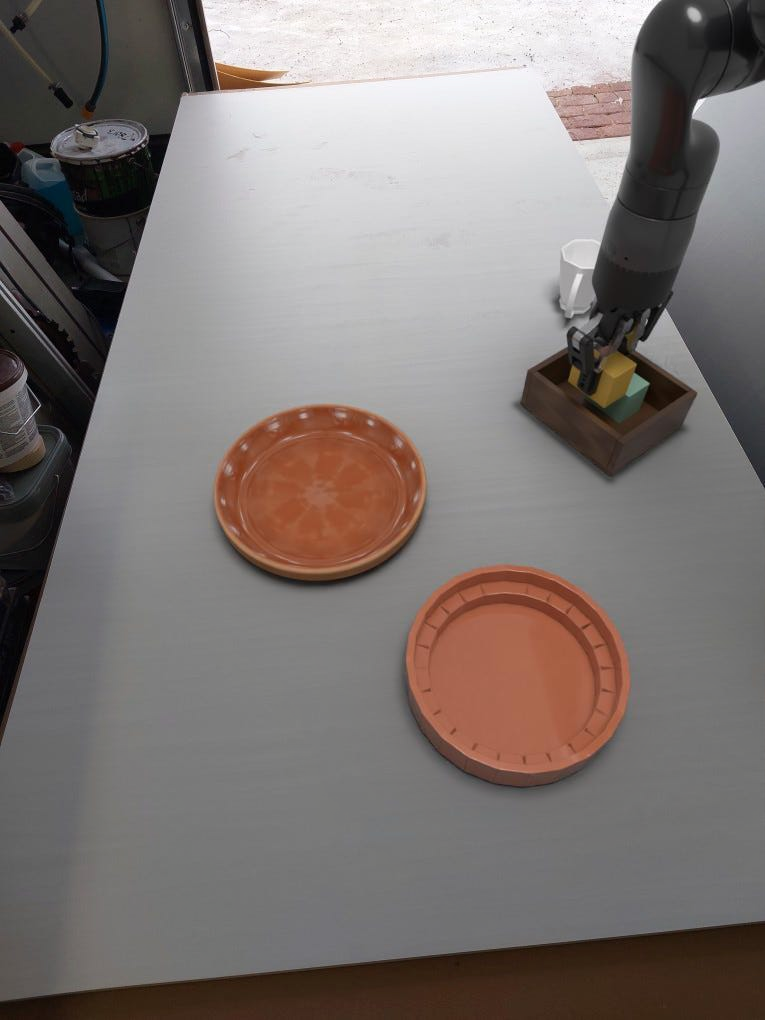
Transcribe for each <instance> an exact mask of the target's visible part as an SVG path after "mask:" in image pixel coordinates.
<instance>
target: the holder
mask: <svg viewBox="0 0 765 1020" xmlns="http://www.w3.org/2000/svg"><path fill="white" fill-rule="evenodd" d="M606 342H607V341H606ZM608 343H609V344H610V342H608ZM628 358H629V359H630V360H632V361H633V362H635V363H636V364H637V365H636V368H635V371H634V373H635V374H637V375H638V376H640V377H641V378H643V379H644V380H645V381H647V382H648V383H650V384H649V387H648V389H647V392H646V394H645V397H644V399H643V402H642V404H641V406H640V409H639V411H638V412H636V413H635V414H633V415H632V416H630V417H629V418H627V419H626V420H624V421H623V422H621V423H619V424H618V423H617V422H616V421H614V420H613V419H612V418H610V417H609V416H608V415H606V414H605V413H604V412H602V411H601V410H600V409H598V408H597V407H596V406H594V405H593V404H592V403H591V402H589V401H588V400H587V399H585V396H586V394H584V393H583V392H582V391H580V390H579V389H578V388H576V387H575V386H574V385H572V384H571V383H570V382H568V379H569V376H570V372H571V369H572V365H571V364H570V363H569V355H568V346H565V347H564V348H563V349H561V350H559V351H558V352H556V353H554V354H552V355H551V356H549V357H547V358H545V359H544V360H542V361H541V362H539V363H537V364H535V365H534V366H532V367H530V368H529V369H526V370H527V371H526V375H525V380H524V385H523V389H522V394H521V400H520V405H521V406H522V407H524V408H525V409H526V410H527V411H528V412H529V413H531V414H532V415H533V416H535V417H536V418H537V419H538V420H540V421H541V422H542V423H544V424H545V425H546V426H547V427H548V428H550V429H551V430H552V431H553V432H554V433H556V434H557V435H558V436H559V437H561V438H562V439H563V440H564V441H566V442H567V443H568V444H569V445H571V447H573V448H575V449H576V450H577V451H578V452H580V454H582V455H583V456H584V457H586V458H587V459H588V460H589V461H590V462H592V463H593V464H594V465H595V466H597V467H598V468H599V469H600V470H601V471H603V472H604V473H605V474H607V475H608V476H609V477H612V476H613V475H614V474H616V473H617V472H618V471H620V470H622V469H623V468H624V467H626V466H627V465H629V464H630V463H632V462H633V461H634V460H636V459H638V458H639V457H640V456H641V455H643V454H645V453H646V452H647V451H649V450H650V449H651V448H653V447H655V446H656V445H657V444H659V443H660V442H661V441H663V440H664V439H666V438H667V437H668V436H670V435H672V434H673V433H674V432H675V431H677V430H679V429H680V428H681V427H682V426H683V424H684V422H685V420H686V418H687V416H688V414H689V412H690V410H691V408H692V406H693V404H694V402H695V400H696V398H697V396H698V394H699V393H698V391H697V390H695V389H693V388H692V387H691V386H689V385H688V384H686V383H685V382H683V381H682V380H680V379H679V378H678V377H676V376H675V375H673V374H671V373H670V372H668V371H667V370H666V369H664V368H662V367H661V366H659V364H656V363H655V362H653V360H650V359H649V358H648V357H647V356H645V355H643V354H642V353H640V352H639V351H638V350H636V349H635V350H634V351H633V352H632V353H630V354H629V357H628Z"/></svg>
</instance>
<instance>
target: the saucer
mask: <svg viewBox="0 0 765 1020" xmlns="http://www.w3.org/2000/svg"><path fill="white" fill-rule="evenodd" d="M213 481H214V482H213V493H212V495H213V505H214V511H215V514H216V517H217V520H218V522H219V524H220V527H221V528H222V531H223V533H224V535H225V537H226V538H227V540H228V541H229V543H230V544H231V546H233V548H234V549H235V550H236V551H237V552H238V553H239V554H241V555H242V556H243V557H244V558H245V559H247V561H249V562H251V563H252V564H254V565H255V566H257V567H259V568H260V569H263V570H265V571H267V572H269V573H272V574H275V575H278V576H280V577H284V578H287V579H288V578H289V579H293V580H300V581H314V582H315V581H318V582H320V581H331V580H332V581H333V580H338V579H339V580H340V579H344V578H348V577H352V576H355V575H358V574H361V573H363V572H366V571H368V570H371V569H372V568H375V567H376V566H378V565H380V564H381V563H383V562H385V561H386V560H388V559H389V558H390V557H392V556H393V555H394V554H396V553H397V552H398V551H399V550H400V549H401V548H402V547H404V545H405V544H406V542H408V540H409V539H410V537H411V536H412V535H413V533H414V532H415V530H416V529H417V527H418V525H419V522H420V521H421V518H422V517H423V512H424V509H425V503H426V499H427V498H426V497H427V487H428V484H427V483H428V482H427V471H426V467H425V464H424V461H423V458H422V456H421V454H420V452H419V449H418V448H417V447H416V445H415V444H414V442H413V441H412V440H411V438H409V436H408V435H407V434H406V433H405V432H404V431H403V430H402V429H400V428H399V427H398V426H396V425H395V424H394V423H392V422H391V421H389V420H388V419H386V418H384V417H382V416H381V415H378V414H376V413H374V412H371V411H368V410H366V409H363V408H359V407H355V406H350V405H346V404H345V405H344V404H337V403H316V404H307V405H301V406H296V407H292V408H287V409H284V410H282V411H279V412H276V413H274V414H271V415H269V416H267V417H265V418H264V419H261V420H259V422H256V423H255V424H254V425H252V426H251V427H250V428H248V429H247V430H245V431H243V433H242V434H241V435H239V437H237V439H236V440H235V441H234V442H233V443H232V444H231V446H230V447H229V448H228V450H227V451H226V452H225V454H224V455H223V457H222V459H221V460H220V463H219V465H218V468H217V471H216V474H215V477H214V480H213Z"/></svg>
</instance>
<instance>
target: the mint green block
mask: <svg viewBox="0 0 765 1020" xmlns="http://www.w3.org/2000/svg"><path fill="white" fill-rule="evenodd" d="M649 384H650V383H648V382H647V381H645V380H644V379H643V378H641V377H640V376H638V375H637V374H635V373H633V376H632V379H631V381H630V384H629V387H628V390H627V392H626V394H625V395H624V396H622V397H621V398H619V399H618V400H616V401H615V402H613V403H612V404H610V405H608V406H607V407H605V408H603V407H602V406H600V405H599V404H598V403H596V402H595V401H594V400H592V399H591V398H590V397H588V396H587V395H586V396H585V399H587V400H588V401H589V402H591V403H592V404H593V405H594V406H596V407H597V408H598V409H600V410H601V411H602V412H604V413H605V414H606V415H608V416H609V417H610V418H612V419H613V420H614V421H616V422H617V423H618V424H619V423H621V422H623V421H624V420H626V419H627V418H629V417H630V416H632V415H633V414H635V413H636V412H638V411H639V409H640V406H641V404H642V402H643V399H644V397H645V394H646V392H647V389H648V387H649Z"/></svg>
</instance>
